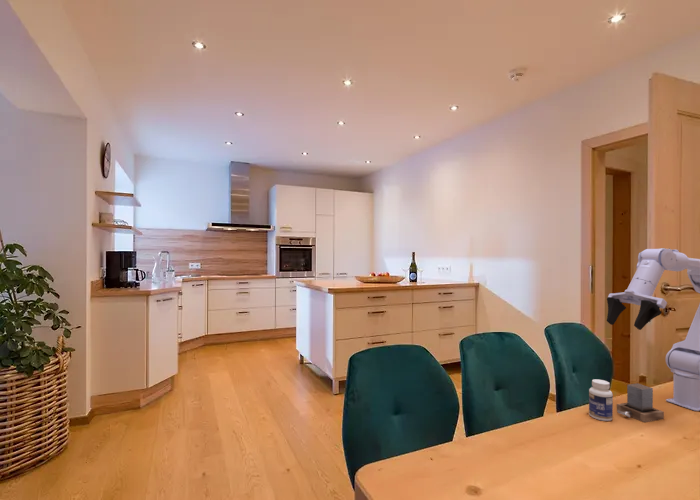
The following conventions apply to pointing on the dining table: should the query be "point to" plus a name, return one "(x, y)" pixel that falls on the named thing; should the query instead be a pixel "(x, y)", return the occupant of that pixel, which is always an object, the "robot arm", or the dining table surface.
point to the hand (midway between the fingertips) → (623, 325)
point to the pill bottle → (600, 400)
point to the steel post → (640, 397)
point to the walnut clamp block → (640, 413)
